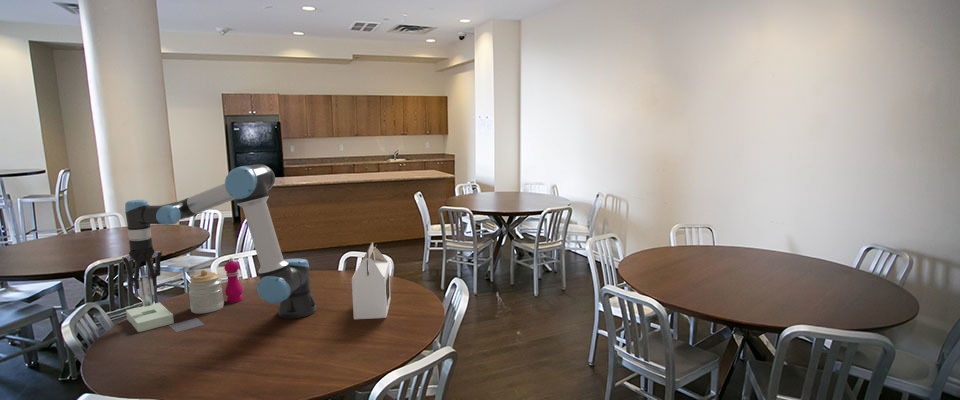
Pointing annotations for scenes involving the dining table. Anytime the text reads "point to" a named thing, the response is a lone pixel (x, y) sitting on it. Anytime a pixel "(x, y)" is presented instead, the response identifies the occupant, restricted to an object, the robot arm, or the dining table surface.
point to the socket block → (149, 317)
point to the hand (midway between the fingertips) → (146, 294)
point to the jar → (205, 292)
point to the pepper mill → (233, 282)
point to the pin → (146, 291)
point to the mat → (186, 325)
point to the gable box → (371, 286)
